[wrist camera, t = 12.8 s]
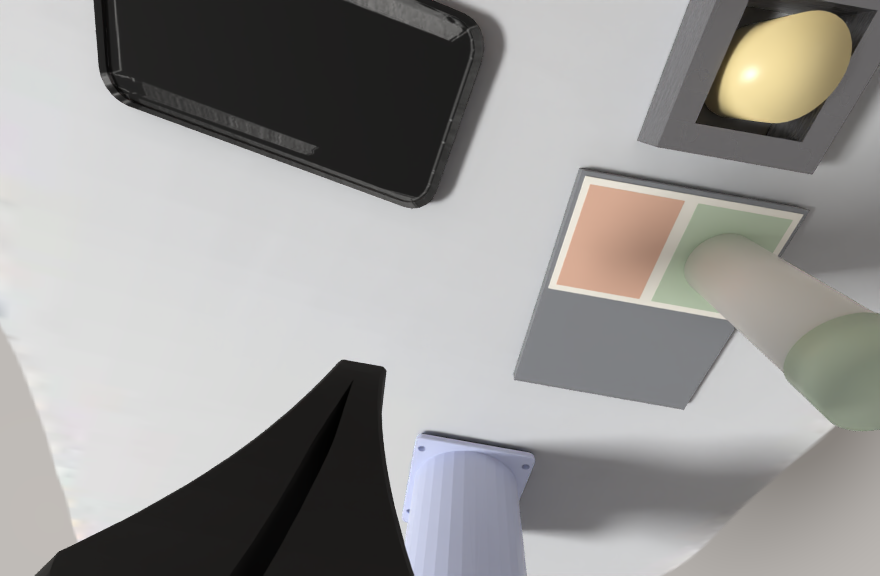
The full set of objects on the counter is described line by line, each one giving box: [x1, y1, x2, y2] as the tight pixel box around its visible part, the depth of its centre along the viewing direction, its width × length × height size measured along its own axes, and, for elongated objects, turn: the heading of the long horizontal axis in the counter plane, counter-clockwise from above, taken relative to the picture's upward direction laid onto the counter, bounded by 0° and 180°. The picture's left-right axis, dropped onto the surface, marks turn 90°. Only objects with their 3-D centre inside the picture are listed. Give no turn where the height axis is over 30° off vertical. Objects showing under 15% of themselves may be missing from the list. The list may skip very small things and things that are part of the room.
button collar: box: [637, 0, 880, 174], centre depth 14 cm, size 6×6×2 cm
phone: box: [94, 0, 484, 208], centre depth 16 cm, size 8×1×15 cm
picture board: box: [514, 168, 810, 410], centre depth 20 cm, size 12×10×1 cm
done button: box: [705, 10, 852, 123], centre depth 14 cm, size 3×3×2 cm
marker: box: [684, 233, 880, 431], centre depth 14 cm, size 3×3×8 cm
